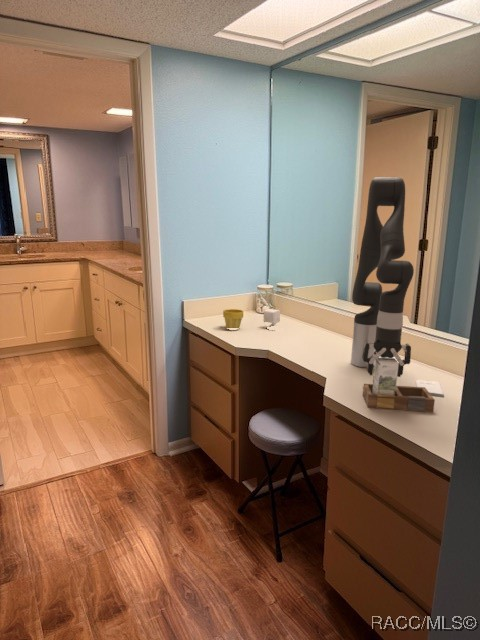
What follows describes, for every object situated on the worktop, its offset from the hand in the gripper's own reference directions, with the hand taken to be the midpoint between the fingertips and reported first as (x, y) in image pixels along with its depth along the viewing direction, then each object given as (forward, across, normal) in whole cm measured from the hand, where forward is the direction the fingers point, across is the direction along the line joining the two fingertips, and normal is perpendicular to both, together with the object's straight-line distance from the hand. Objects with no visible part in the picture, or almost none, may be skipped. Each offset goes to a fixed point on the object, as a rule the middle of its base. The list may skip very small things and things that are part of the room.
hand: (384, 375), depth 143 cm
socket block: (+9, -5, 0) cm, 10 cm away
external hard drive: (+10, -19, -15) cm, 26 cm away
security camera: (+9, +39, -91) cm, 100 cm away
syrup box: (+9, 0, 0) cm, 9 cm away
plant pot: (+9, +59, -86) cm, 105 cm away
